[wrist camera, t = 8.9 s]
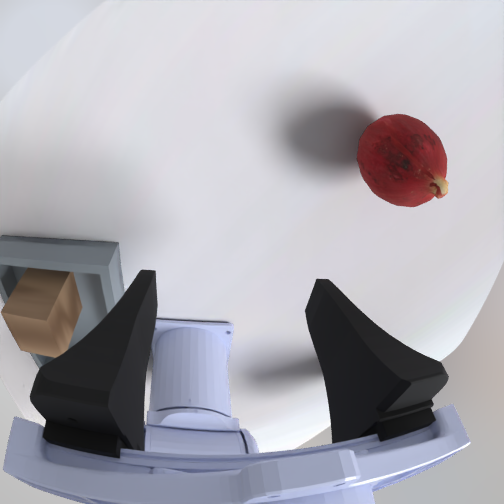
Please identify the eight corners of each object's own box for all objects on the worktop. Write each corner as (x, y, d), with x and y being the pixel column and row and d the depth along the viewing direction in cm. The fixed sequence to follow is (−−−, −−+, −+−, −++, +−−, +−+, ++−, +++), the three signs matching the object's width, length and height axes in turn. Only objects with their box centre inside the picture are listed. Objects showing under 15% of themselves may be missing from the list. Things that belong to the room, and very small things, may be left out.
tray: (138, 363, 30) (135, 385, 28) (46, 350, 28) (39, 369, 26) (118, 242, 22) (108, 266, 19) (2, 235, 19) (-15, 254, 17)
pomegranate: (325, 158, 20) (378, 209, 13) (364, 90, 17) (438, 111, 11) (382, 191, 22) (440, 248, 15) (418, 132, 19) (490, 171, 13)
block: (82, 307, 24) (64, 359, 19) (42, 301, 23) (20, 350, 18) (72, 267, 21) (46, 320, 16) (30, 263, 21) (0, 312, 16)
